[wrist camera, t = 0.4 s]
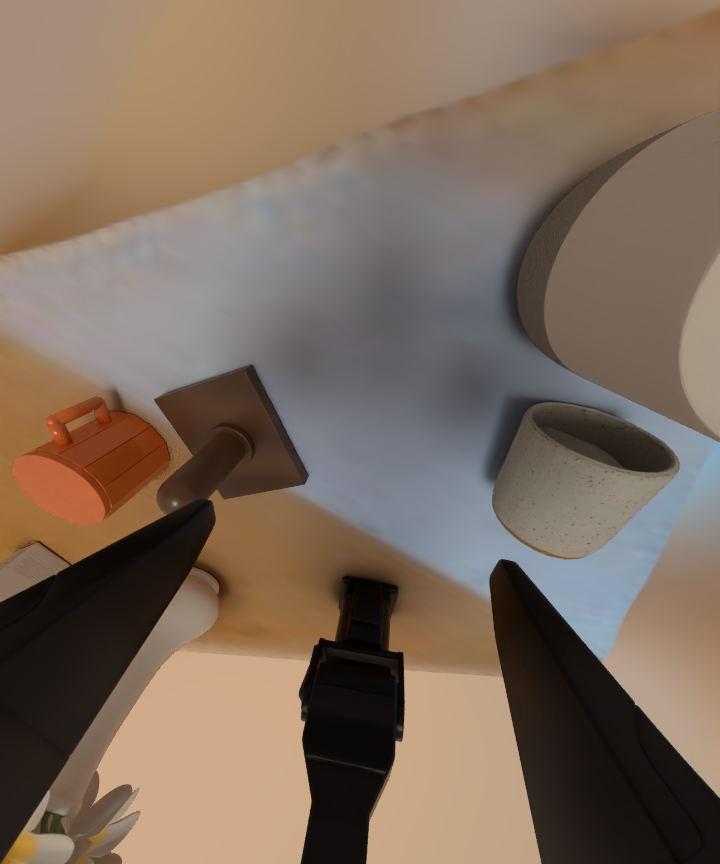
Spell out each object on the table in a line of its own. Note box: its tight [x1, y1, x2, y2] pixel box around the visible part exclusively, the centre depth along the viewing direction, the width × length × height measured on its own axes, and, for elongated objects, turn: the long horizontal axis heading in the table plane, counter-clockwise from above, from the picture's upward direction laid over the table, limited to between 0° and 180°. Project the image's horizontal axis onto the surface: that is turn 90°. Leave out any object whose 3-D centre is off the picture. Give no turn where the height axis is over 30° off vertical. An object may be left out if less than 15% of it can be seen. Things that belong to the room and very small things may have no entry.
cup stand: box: [154, 365, 308, 515], centre depth 22 cm, size 11×9×9 cm
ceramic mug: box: [492, 402, 680, 559], centre depth 19 cm, size 11×8×8 cm
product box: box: [0, 542, 71, 602], centre depth 38 cm, size 6×6×7 cm
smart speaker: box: [517, 109, 720, 442], centre depth 10 cm, size 10×9×14 cm
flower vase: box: [1, 567, 220, 864], centre depth 28 cm, size 13×18×25 cm
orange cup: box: [12, 397, 170, 526], centre depth 24 cm, size 9×7×7 cm
